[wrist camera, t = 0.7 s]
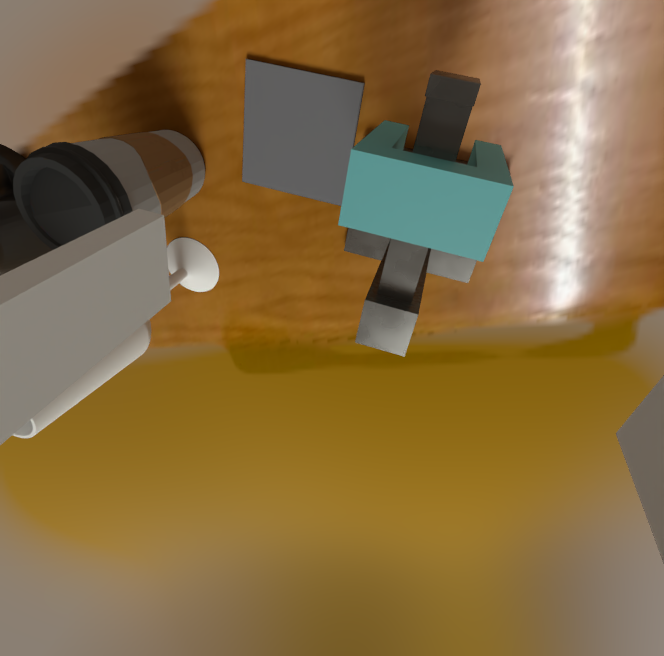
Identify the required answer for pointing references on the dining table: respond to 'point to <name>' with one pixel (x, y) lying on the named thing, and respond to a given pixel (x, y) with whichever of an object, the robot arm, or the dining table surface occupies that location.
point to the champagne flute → (187, 269)
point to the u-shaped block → (425, 194)
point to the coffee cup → (105, 182)
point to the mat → (299, 130)
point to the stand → (405, 258)
